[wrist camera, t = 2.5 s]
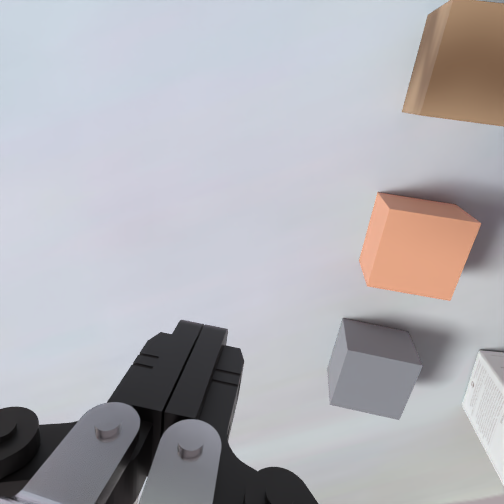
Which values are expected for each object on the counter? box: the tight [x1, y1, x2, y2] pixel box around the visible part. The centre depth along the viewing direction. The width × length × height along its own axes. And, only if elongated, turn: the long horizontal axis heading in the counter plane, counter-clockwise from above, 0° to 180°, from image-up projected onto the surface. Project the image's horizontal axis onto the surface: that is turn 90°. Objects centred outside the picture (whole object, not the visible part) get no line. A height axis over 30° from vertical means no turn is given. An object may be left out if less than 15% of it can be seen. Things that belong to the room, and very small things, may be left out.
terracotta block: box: [359, 192, 481, 301], centre depth 23 cm, size 5×5×4 cm
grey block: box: [327, 318, 423, 420], centre depth 27 cm, size 5×5×4 cm
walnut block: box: [402, 0, 504, 126], centre depth 19 cm, size 5×5×4 cm
